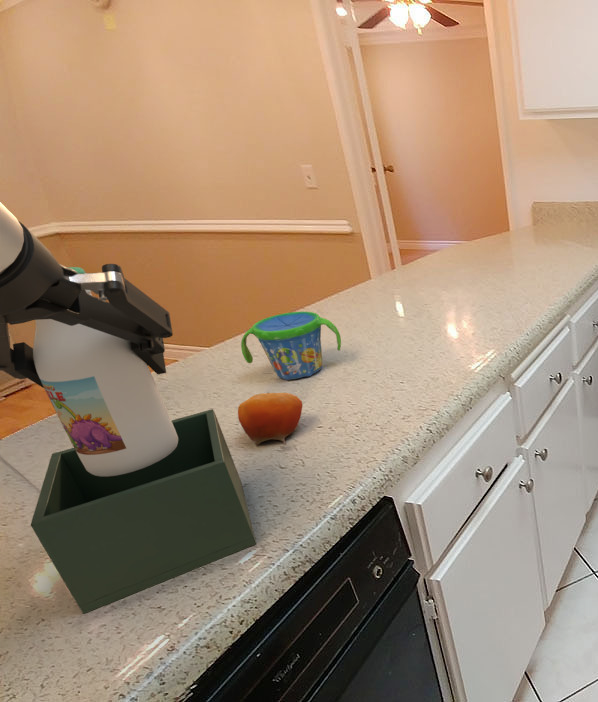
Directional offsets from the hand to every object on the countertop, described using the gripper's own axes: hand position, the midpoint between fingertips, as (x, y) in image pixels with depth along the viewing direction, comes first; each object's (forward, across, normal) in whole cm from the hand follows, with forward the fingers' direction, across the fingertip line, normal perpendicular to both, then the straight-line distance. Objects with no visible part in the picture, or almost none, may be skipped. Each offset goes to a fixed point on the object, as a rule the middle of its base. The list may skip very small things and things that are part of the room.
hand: (110, 371), depth 58 cm
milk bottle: (+4, 0, +9) cm, 9 cm away
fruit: (+25, -10, +3) cm, 27 cm away
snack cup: (+41, -14, -13) cm, 46 cm away
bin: (+12, 0, +16) cm, 20 cm away
